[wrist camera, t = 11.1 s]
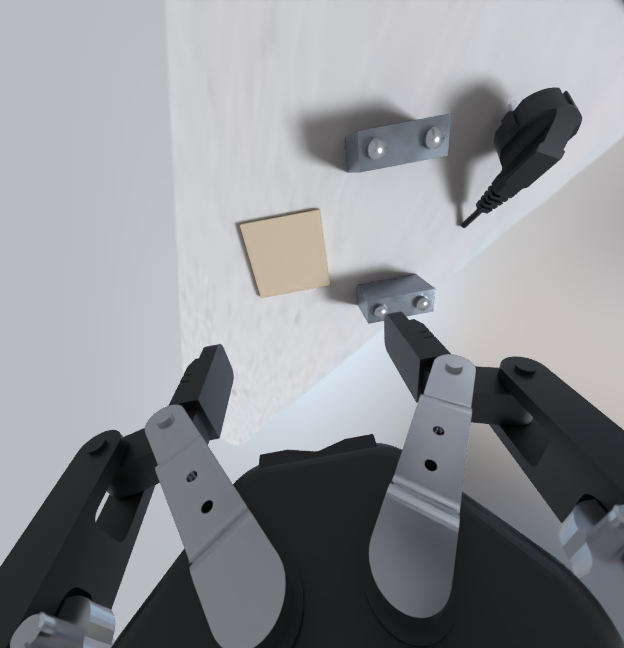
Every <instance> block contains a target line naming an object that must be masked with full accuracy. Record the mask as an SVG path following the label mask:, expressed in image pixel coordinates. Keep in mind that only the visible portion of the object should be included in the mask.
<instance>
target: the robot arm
mask: <svg viewBox="0 0 624 648" xmlns="http://www.w3.org/2000/svg"><path fill="white" fill-rule="evenodd" d="M384 331H385V332H384V333H385V346H386V350H387V352H388V354H389V356H390V358H391V359H392V361H393V363H394V364H395V366H396V368H397V370H398V371H399V373H400V375H401V377H402V378H403V380H404V382H405V383H406V385H407V387H408V389H409V390H410V392H411V394H412V396H413V397H414V399H415V401H416V402H418V404H417V407H416V410H415V413H414V416H413V419H412V422H411V425H410V428H409V432H408V435H407V438H406V441H405V444H404V447H403V450H401V449H399V448H397V447H394V446H391V445H387V444H382V443H376V441H375V438H374V435H373V434H370V435H364V436H360V437H354V438H349V439H344V440H342V441H340V442H338V443H336V444H333V445H331V446H329V447H327V448H324V449H322V450H320V451H315V452H313V451H298V450H284V451H278V452H273V453H267V454H262V455H260V459H259V465H258V466H256V467H254V468H252V469H251V470H249V471H247V472H246V473H245V474H243V475H242V476H241V477H240V478H239V479H238V480H237V481H236V482H235V483H234V484H232V482H231V481H230V479H229V478H228V476H227V475H226V473H225V472H224V470H223V468H222V467H221V466H220V464H219V462H218V461H217V459H216V458H215V456H214V454H213V453H212V451H211V450H210V448H209V447H208V443H209V440H213V439H219V438H220V434H221V430H222V426H223V422H224V418H225V413H226V409H227V405H228V401H229V397H230V392H231V388H232V384H233V379H234V376H233V370H232V367H231V364H230V362H229V360H228V357H227V355H226V352H225V350H224V348H223V346H222V345H221V344H218V345H213V346H207V347H204V349H203V351H202V353H201V355H200V357H199V358H198V359H195V360H194V361H193V362H192V363H191V364H190V365H189V366H188V367H187V369H186V371H185V373H184V377H182V379H181V381H180V384H179V385H178V387H177V389H176V391H175V394H174V396H173V397H172V400H171V402H170V404H169V406H167V407H165V408H163V409H161V410H159V411H158V412H156V413H155V414H154V415H153V416H152V417H151V418H150V419H149V420H148V422H147V423H146V426H145V428H144V429H141V430H139V431H137V432H134V433H132V434H130V435H127V436H125V437H123V436H122V435H121V434H120V432H119V431H117V430H109V431H105V432H103V433H101V434H99V435H97V436H95V437H93V438H92V439H90V440H89V441H88V442H87V443H86V444H85V445H83V446H82V448H81V449H80V450H79V451H78V453H77V454H76V455H75V457H74V458H73V460H72V461H71V463H70V464H69V466H68V467H67V469H66V470H65V472H64V473H63V475H62V476H61V478H60V479H59V481H58V482H57V484H56V485H55V487H54V488H53V490H52V491H51V492H50V494H49V495H48V497H47V498H46V500H45V501H44V503H43V504H42V506H41V507H40V509H39V510H38V512H37V513H36V515H35V516H34V518H33V519H32V521H31V522H30V524H29V525H28V527H27V528H26V530H25V531H24V533H23V534H22V535H21V537H20V539H19V540H18V542H17V543H16V544H15V546H14V547H13V549H12V550H11V552H10V553H9V555H8V556H7V558H6V559H5V561H4V562H3V564H2V565H1V566H0V648H624V430H623V429H622V428H620V427H619V426H618V425H617V424H615V423H614V422H613V421H612V420H610V419H609V418H608V417H607V416H606V415H604V414H603V413H602V412H601V411H599V410H598V409H597V408H596V407H594V406H593V405H592V404H591V403H590V402H588V401H587V400H586V399H585V398H583V397H582V396H581V395H580V394H578V393H577V392H576V391H575V390H573V389H572V388H571V387H570V386H568V385H567V384H566V383H565V382H564V381H562V380H561V379H560V378H559V377H557V376H556V375H555V374H554V373H553V372H551V371H550V370H549V369H548V368H546V367H545V366H544V365H542V364H541V363H539V362H537V361H535V360H532V359H529V358H524V357H508V358H505V359H504V360H502V362H501V364H500V367H499V368H492V367H476V366H474V364H473V363H472V362H471V361H470V360H468V359H466V358H464V357H462V356H458V355H452V354H451V353H450V352H449V351H448V350H447V349H446V348H445V347H444V346H443V345H442V344H441V343H440V342H439V340H438V339H437V338H436V337H434V335H433V334H432V333H431V332H429V329H428V328H427V327H426V326H425V325H424V324H423V323H420V322H419V321H416V320H415V319H412V320H409V319H408V318H407V317H406V316H405V315H404V314H403V312H401V311H399V312H394V313H389V314H385V317H384ZM471 422H474V423H484V424H489V425H490V426H491V428H492V429H493V430H494V432H495V433H496V434H497V436H498V437H499V438H500V440H501V441H502V443H503V444H504V445H505V447H506V448H507V449H508V451H509V452H510V453H511V455H512V456H513V458H514V459H515V460H516V462H517V463H518V464H519V466H520V467H521V468H522V470H523V471H524V473H525V474H526V475H527V477H528V478H529V479H530V481H531V482H532V483H533V485H534V486H535V488H536V489H537V490H538V492H539V493H540V494H541V496H542V497H543V498H544V500H545V501H546V502H547V504H548V505H549V507H550V508H551V509H552V511H553V512H554V513H555V515H556V516H557V517H558V519H559V520H560V522H561V523H562V524H561V526H560V528H559V532H558V533H559V540H560V543H561V545H562V548H563V549H564V551H565V553H566V555H567V557H568V558H569V560H570V563H571V565H572V569H573V572H571V570H570V569H568V568H567V567H566V566H565V565H564V564H562V563H561V562H560V561H559V560H557V559H556V558H555V557H554V556H552V555H551V554H550V553H548V552H547V551H545V550H544V549H543V548H541V547H540V546H538V545H537V544H536V543H534V542H533V541H531V540H530V539H528V538H527V537H526V536H524V535H523V534H522V533H520V532H519V531H517V530H516V529H515V528H513V527H512V526H510V525H509V524H508V523H506V522H505V521H503V520H502V519H500V518H499V517H498V516H496V515H495V514H493V513H492V512H490V511H489V510H488V509H486V508H485V507H484V506H482V505H481V504H479V503H478V502H477V501H475V500H474V499H472V498H471V497H469V496H468V495H467V494H465V493H464V492H462V488H463V481H464V473H465V465H466V457H467V448H468V441H469V433H470V425H471ZM158 483H160V484H161V487H162V489H163V492H164V495H165V497H166V500H167V503H168V505H169V508H170V510H171V513H172V516H173V519H174V521H175V524H176V527H177V529H178V532H179V534H180V537H181V540H182V543H183V545H184V550H183V551H182V552H181V554H180V555H179V556H178V558H177V559H176V560H175V562H174V563H173V565H172V566H171V567H170V568H169V570H168V571H167V572H166V574H165V575H164V576H163V578H162V579H161V580H160V582H159V583H158V585H157V586H156V587H155V588H154V590H153V591H152V593H151V594H150V595H149V596H148V598H147V599H146V600H145V602H144V603H143V604H142V606H141V607H140V608H139V610H138V611H137V612H136V614H135V615H134V616H133V618H132V619H131V620H130V622H129V623H128V624H127V626H126V627H125V629H124V630H123V631H122V632H121V634H120V635H119V636H118V638H117V639H116V641H115V642H114V639H113V635H114V630H115V617H114V614H113V612H112V611H111V609H112V606H113V603H114V600H115V598H116V595H117V592H118V589H119V586H120V584H121V581H122V578H123V575H124V572H125V569H126V566H127V564H128V561H129V558H130V555H131V552H132V550H133V546H134V544H135V541H136V538H137V535H138V533H139V530H140V527H141V524H142V521H143V518H144V515H145V513H146V510H147V507H148V504H149V502H150V499H151V496H152V493H153V490H154V487H155V485H156V484H158ZM106 491H107V492H108V493H109V494H110V495H109V497H108V499H107V501H106V503H105V505H104V507H103V509H102V511H101V513H100V515H99V517H98V519H97V521H96V522H95V516H96V512H97V509H98V507H99V505H100V503H101V501H102V499H103V497H104V495H105V493H106Z"/></svg>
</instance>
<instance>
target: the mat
mask: <svg viewBox="0 0 624 648" xmlns="http://www.w3.org/2000/svg"><path fill="white" fill-rule="evenodd" d="M240 228H241V231H242V235H243V238H244V241H245V245H246V248H247V252H248V255H249V259H250V262H251V265H252V269H253V272H254V276H255V279H256V282H257V286H258V289H259V293H260V296H261V298H265V297H271V296H276V295H281V294H286V293H292V292H297V291H302V290H307V289H313V288H318V287H323V286H328V285H330V280H329V272H328V265H327V257H326V250H325V242H324V235H323V228H322V220H321V213H320V209H317V210H312V211H307V212H302V213H296V214H291V215H286V216H280V217H275V218H270V219H265V220H259V221H254V222H249V223H244V224H240Z"/></svg>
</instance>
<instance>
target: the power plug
mask: <svg viewBox="0 0 624 648" xmlns="http://www.w3.org/2000/svg"><path fill="white" fill-rule="evenodd" d="M508 110H509V112H508V113H507V114H506V115H505V117H504V118H503V119H502V120H501V122H502V125H501V126H500V127H499V129H498V130H497V131H496V132H495V136H494V144H495V147H496V150H497V153H498V156H499V159H500V162H501V165H502V171H501V173H500V174H499V175H498V176H497V177H496V178H495V180H494V181H493V182H492V186H489V187H488V191H487V190H486V191H485V193H484V195H482V197H481V200H479V201H478V202H477V203H476V207H477V210H476V211H475V212H473V213H472V214H471V215H470V216H469V217H468V218H467V219H466V220H465V221H464V222H463V223H462V224H461V226H462V227H463V228H466V227H467V226H468V225H469V224H470V223H471V222H472V221H473V220H474V219H476V218H477V217H478V216H479V215H480V214H481V213H482V212H483V213H489V212H491V211H492V209H495V208H497V207H498V206H497V205H499V206H500V205H501V204H503V202H506V201H507V200H508V198H512V197H513V196H515V195H516V194H517V193H518V192H519V191H520V190H521V189H523V188H527V187H529V186H530V185H531V184H532V183H533V182H534V181H536V180H537V179H538V178H539V177H540V176H542V175H543V174H544V173H545V172H546V171H547V170H549V169H550V168H551V167H552V166H553V165H554V164H556V163H557V162H558V161H559V160H560V159H561V158H562V157H563V155H564V153H565V151H564V150H563V149H564V147H565V146H566V144H567V142H568V141H569V140H570V139H571V138H572V137H573V136H574V135H575V134H576V133H577V131H578V129H579V127H580V125H581V121H582V116H581V114H580V112H579V110H578V108H577V106H576V105H575V103H574V101H573V99H572V98H571V96H570V94H569V93H568V92H567V91H565V92H564V93H563V94H562V92H561V90H560V88H547V89H543V90H540V91H538V92H536V93H533V94H531V95H530V96H528V97H526V98H525V99H523V100H522V101H521V103H520V104H518V102H517V101H516V100H513V101H511V102H510V103H509V105H508Z"/></svg>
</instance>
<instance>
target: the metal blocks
mask: <svg viewBox="0 0 624 648" xmlns="http://www.w3.org/2000/svg"><path fill="white" fill-rule="evenodd" d="M451 115H452V113H450V114H445V115H440V116H435V117H429V118H424V119H419V120H413V121H408V122H403V123H398V124H392V125H387V126H382V127H377V128H371V129H366V130H361V131H357V132H355V133H353V134H352V135H350V136H348V137H346V138H345V144H346V157H347V169H348V173H352V172H364V171H370V170H375V169H380V168H385V167H391V166H396V165H401V164H406V163H412V162H417V161H422V160H428V159H433V158H438V157H443V156H448V148H449V137H450V126H451ZM434 297H435V288H434V287H432V286H431V285H430V284H428V283H427V282H426V281H425V280H423V279H422V278H421V277H419V276H418V275H417V274H414V275H409V276H404V277H398V278H393V279H388V280H383V281H377V282H372V283H367V284H362V285H357V298H358V306H359V308H360V310H361V311H362V313H363V315H364V317H365V319H366V320H367V322H368V324H369V323H375V322H380V321H384V317H385V314H389V313H394V312H399V311H401V312H403V314H404V315H405V316H411V315H416V314H422V313H427V312H432V311H433V309H434Z"/></svg>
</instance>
